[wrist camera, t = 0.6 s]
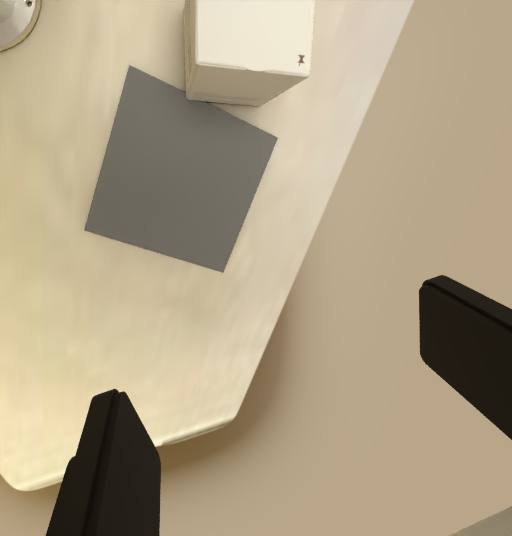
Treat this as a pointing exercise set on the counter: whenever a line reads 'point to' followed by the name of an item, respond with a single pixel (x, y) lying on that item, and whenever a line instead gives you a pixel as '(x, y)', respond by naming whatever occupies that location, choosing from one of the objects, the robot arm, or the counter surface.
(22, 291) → the counter surface
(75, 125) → the counter surface
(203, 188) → the mat
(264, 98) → the supplement box
